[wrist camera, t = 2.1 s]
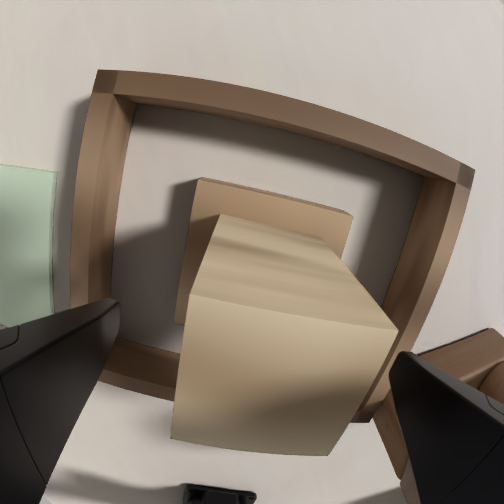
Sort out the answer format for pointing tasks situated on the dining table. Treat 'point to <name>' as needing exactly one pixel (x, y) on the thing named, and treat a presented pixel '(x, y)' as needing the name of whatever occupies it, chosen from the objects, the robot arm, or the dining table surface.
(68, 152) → the dining table surface
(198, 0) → the dining table surface
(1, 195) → the green mat
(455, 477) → the robot arm
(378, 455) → the dining table surface
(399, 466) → the wooden block structure
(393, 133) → the wooden rectangular frame
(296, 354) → the beech block
